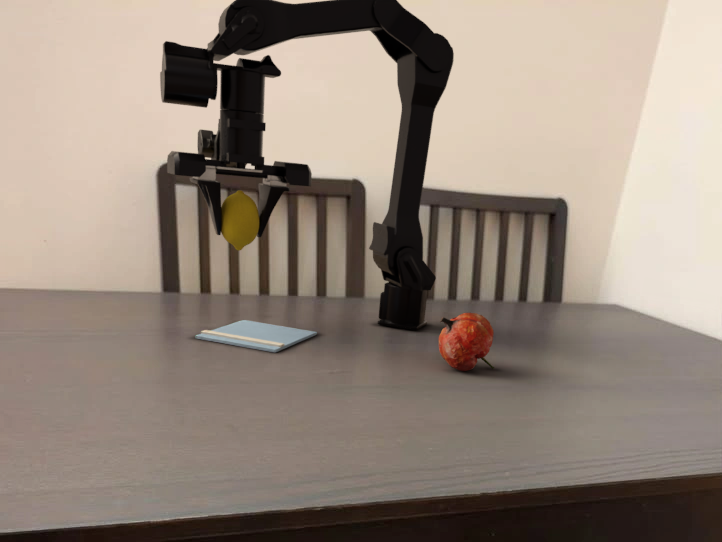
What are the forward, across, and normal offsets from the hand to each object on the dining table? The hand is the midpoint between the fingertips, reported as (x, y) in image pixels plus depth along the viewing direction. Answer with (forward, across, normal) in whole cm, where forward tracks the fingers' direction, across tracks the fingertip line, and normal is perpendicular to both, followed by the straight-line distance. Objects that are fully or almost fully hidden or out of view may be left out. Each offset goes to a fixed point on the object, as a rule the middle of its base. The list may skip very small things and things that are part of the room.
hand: (238, 235), depth 102 cm
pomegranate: (+12, -23, +27) cm, 37 cm away
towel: (+12, -1, +8) cm, 15 cm away
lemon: (+2, 0, 0) cm, 2 cm away
